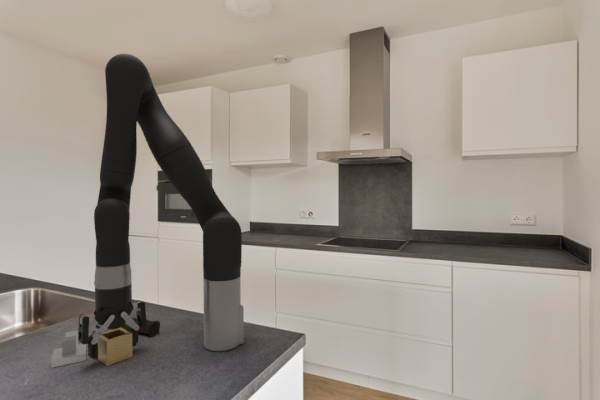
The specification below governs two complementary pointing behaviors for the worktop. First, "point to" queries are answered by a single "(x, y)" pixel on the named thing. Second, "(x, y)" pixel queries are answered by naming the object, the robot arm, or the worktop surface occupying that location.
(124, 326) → the hand tool
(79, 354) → the clear stepped bracket
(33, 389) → the worktop surface
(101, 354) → the tan open-top container
